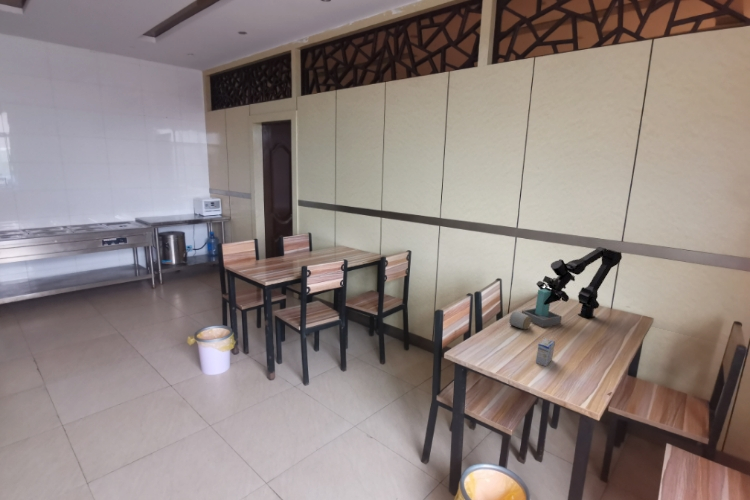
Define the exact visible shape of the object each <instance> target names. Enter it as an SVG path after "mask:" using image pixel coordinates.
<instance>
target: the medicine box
mask: <svg viewBox="0 0 750 500" xmlns="http://www.w3.org/2000/svg"><path fill="white" fill-rule="evenodd" d="M555 345H556V341H555V340H552V339H550V338H546V337H544V338H543V339H542V340H541V341H540V342H539V343H538V346H537V351H536V357H535V364H538V365H541V366H544V367H547V366H548V365H549V364H550V362H551V361H552V360H553V356H554V351H555Z"/></svg>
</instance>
